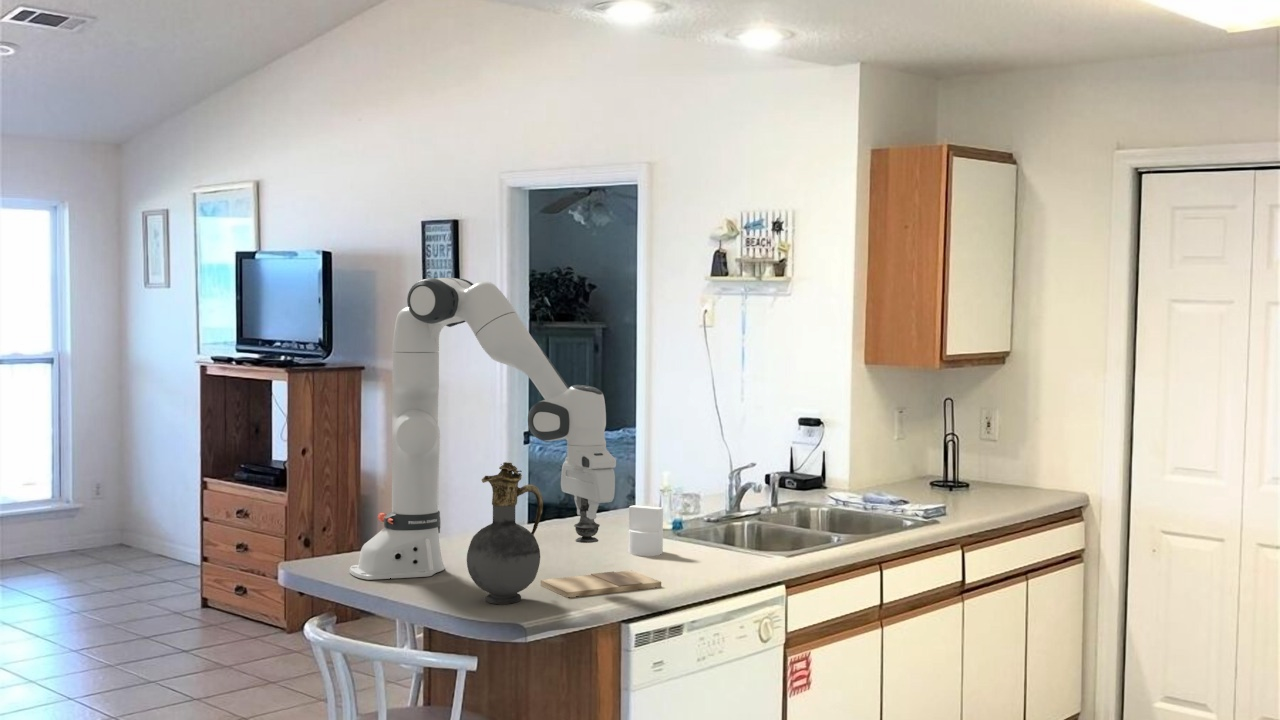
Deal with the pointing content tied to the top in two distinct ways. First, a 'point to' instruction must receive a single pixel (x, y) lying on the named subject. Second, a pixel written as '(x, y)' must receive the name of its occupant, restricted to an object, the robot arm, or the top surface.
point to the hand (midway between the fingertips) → (586, 517)
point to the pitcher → (505, 542)
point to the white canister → (645, 530)
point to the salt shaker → (586, 525)
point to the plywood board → (600, 583)
